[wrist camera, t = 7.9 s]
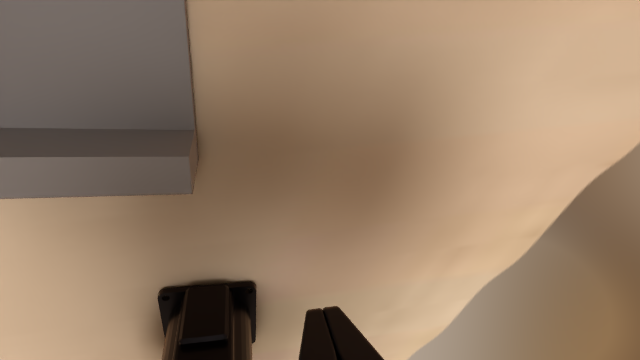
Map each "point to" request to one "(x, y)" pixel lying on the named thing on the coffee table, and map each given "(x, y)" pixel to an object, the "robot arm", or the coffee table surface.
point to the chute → (95, 99)
